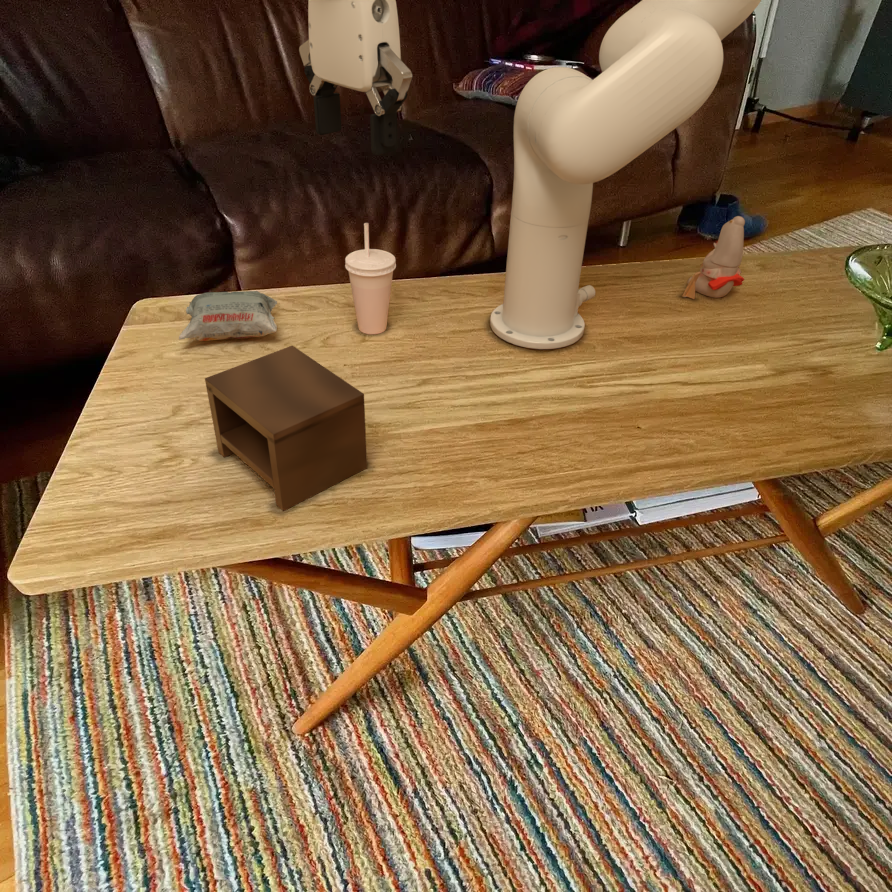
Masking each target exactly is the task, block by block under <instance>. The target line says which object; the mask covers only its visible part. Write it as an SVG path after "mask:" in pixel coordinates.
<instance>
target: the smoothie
mask: <svg viewBox="0 0 892 892" xmlns="http://www.w3.org/2000/svg"><path fill="white" fill-rule="evenodd" d="M369 224H370V223H369V222H364V223H363V234H364V235H363V236H364V237H363V238H364V248H363V249H359V250H358V249H357V250H355V251H353V252H352V251H351V252H350V253H349V254H347V255H346V256H345V258H344V261H345V262H344V263H345V265H344V268H345V270H347V271H348V276H349V277H348V278H349V282H350V288H351V295H352V299H353V303H354V304H353V305H354V311H355V317H356V322H357V329H358V330H359V331H360V332H361V333H363V334H366V335H378V334H382V333H384V332H385V331H386V330H387V325H388V316H389V307H390V301H391V292H392V284H393V275H394V271H395V270H396V267H397V264H396V261H397V259H396V257H395V255H394V254H392V253H391V252H389V251H386V250H382V249H378V248H370V225H369Z"/></svg>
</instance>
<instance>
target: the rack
mask: <svg viewBox="0 0 892 892" xmlns="http://www.w3.org/2000/svg"><path fill="white" fill-rule="evenodd" d="M204 382H205V387H206V393H207V398H208V403H209V409H210V415H211V419H212V425H213V430H214V436H215V441H216V446H217V452H218V453H219V454H220V455H221V456H222V457H223V458H227V457H229V456H231V455H234V454H235V455H236V456H237V457H238V458H239V459H240V460H241V461H243V462H244V463H245V464H246V465H247V466H248V467H249V468H250V469H251V470H253V472H255V473H256V474H257V475H258V476H259V477H260V478H261V479H263V480H264V481H265V482H266V483H267V484H268V485H270V486H271V488H273V491H274V498H275V504H276V506H277V507H278V508H279V509H280V510H281V511H282V512H285V511H287V510H289V509H290V508H292V507H294V506H296V505H299V504H300V503H302V502H304V501H306V500H308V499H310V498H312V497H314V496H316V495H317V494H319V493H322V492H323V491H325V490H328V489H329V488H331V487H333V486H336V485H337V484H338V483H342V482H343V481H344V480H347V479H349V478H350V477H352V476H355V475H356V474H359V473H360V472H362V471H364V470H367V468H368V461H367V458H368V457H367V435H366V409H365V394H364V393H363V392H362V391H361V390H359V389H358V388H356V387H355V386H353V385H352V384H350V383H349V382H347V381H346V380H344V379H343V378H341V376H339V375H337V374H335V373H334V372H333V371H331V370H330V369H328V368H327V367H325V366H324V365H322V364H321V363H320V362H318V361H316V360H314V359H313V358H312V357H310V356H309V355H307V354H305V353H304V352H303V351H301V350H300V349H299V348H297V347H295V346H294V345H290V346H287V347H285V348H282V349H279V350H277V351H274V352H272V353H269V354H266V355H262V356H260V357H258V358H256V359H252V360H250V361H247V362H244V363H242V364H239V365H236V366H233V367H231V368H229V369H226V370H223V371H220V372H218V373H215V374H212V375H210V376H208V377H205V378H204Z"/></svg>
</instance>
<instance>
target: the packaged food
mask: <svg viewBox="0 0 892 892" xmlns="http://www.w3.org/2000/svg"><path fill="white" fill-rule="evenodd" d="M276 305H278V301H277V300H276V299H274V298H273V297H271V296H269V295H266V294H265V293H263V292H260V291H258V290H243V291H242V290H240V291H239V290H238V291H230V292H229V291H215V292H214V291H211V292H210V291H209V292H203V293H200V294H196V295H195V296H194V297H193V298H192V300H191V301H190V302H189V305H188V306H186V308H185V313H186V315H189V316H191V318H190V320H189V323H188V324H187V326H186V327H185V328H184V329H183V330H182V332H181V333H180V334H179V336H178V340H179V341H180V340H185V339H194V340H196V341H200V342H208V341H218V340H219V341H221V340H229V339H236V340H240V339H249V338H258V337H265V336H266V335H272V334H275V333H276V332H277V331H278V326H277V324H276V323H275V320H276V318H275V317H274V316H273V314H272V311H273V309H274V308H275V307H276Z"/></svg>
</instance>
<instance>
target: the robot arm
mask: <svg viewBox="0 0 892 892" xmlns="http://www.w3.org/2000/svg"><path fill="white" fill-rule="evenodd" d="M761 2H762V0H640V1H639V2H638V3H637V4H635V5H634V6H633V7H632V8H630V9H629V10H627V11H626V12H625V13H623V14H622V15H621V16H620V17H619V18H618V19H617V20H615V22H614V23H613V24H612V25H611V26H610V27H609V28H608V30H607V31H606V33H605V35H604V37H603V38H602V41H601V43H600V47H599V52H598V63H599V67H600V69H601V73H600V74H598V75H597V76H596V77H595V78H593V79H592V78H591V77H589V76H587V75H586V74H584V73H583V72H581V71H579V70H577V69H574V68H571V67H567V66H566V67H565V66H553V67H550V68H547V69H544V70H542V71H540V72H538V73H537V74H535V75H534V76H533V77H532V78H530V79H529V80H528V82H527V83H526V84H525V86H524V87H523V89H522V90H521V91H520V94H519V95H518V98H517V102H516V105H515V110H514V116H513V184H512V185H513V186H512V197H511V198H512V199H511V210H510V220H509V230H508V232H509V233H508V242H507V253H506V254H507V257H506V268H505V278H504V289H503V302H502V303H501V304H499V305H498V306H496V307H495V308H494V309H493V310H492V312H491V313H490V318H489V320H490V321H489V326H490V328H491V330H492V332H493V333H494V335H496V336H497V337H499V338H500V339H501V340H503V341H505V342H507V343H509V344H511V345H514V346H518V347H522V348H527V349H533V350H554V349H561V348H566V347H569V346H571V345H573V344H575V343H576V342H578V341H580V339H581V338H582V337H583V335H584V333H585V327H586V326H585V325H586V323H585V320H584V318H583V317H582V315H581V314H580V313H579V312H578V311H579V308H580V307H581V306H582V305H583V303H585V302H587V301H589V300H592V299H594V298H595V297H596V289H595V288H594V286H593V285H591V284H588V285H585V286H583V287H580V282H581V281H580V280H581V272H582V266H583V260H584V254H585V253H584V252H585V248H586V247H585V246H586V240H587V234H588V233H587V232H588V227H589V221H590V220H589V219H590V217H591V215H590V214H591V208H592V201H593V190H594V183H598V182H600V181H602V180H605V179H606V178H608V177H610V176H612V175H614V174H616V173H617V172H618V171H620V170H621V169H624V167H626V166H627V165H628V164H629V163H631V162H632V161H634V159H636V158H638V157H639V156H640V155H642V154H643V153H644V152H646V151H647V150H649V149H650V148H651V147H653V146H654V145H655V144H657V143H658V142H659V141H660V140H662V139H663V138H665V137H667V135H669V134H670V133H672V132H673V131H674V130H675V129H677V128H678V127H679V126H681V125H682V124H683V123H685V122H686V121H687V120H688V119H690V118H691V117H692V116H693V115H694V114H695V113H697V112H698V110H700V108H701V107H702V106H703V105H704V104H705V103H706V102H707V100H708V99H709V97H710V96H711V95H712V93H713V91H714V89H715V87H716V86H717V84H718V82H719V80H720V77H721V73H722V70H723V65H724V49H723V43H722V41H723V40H724V39H725V38H726V37H727V36H729V34H731V33H732V32H734V30H736V29H737V28H738V27H739V26H740V25H742V23H744V22H745V21H746V20H747V19H748V18H749V16H750V15H751V14H752V13H753V12H754V11H755V10H756V8H758V6H759V5H760V3H761ZM307 4H308V5H307V7H308V9H307V10H308V11H307V12H308V13H307V15H308V18H307V21H308V24H307V25H308V39H307V40H306V41H304V42H303V43H302V44H301V45H299V47H298V52H299V56H300V58H301V61H302V64H303V67H304V69H303V72H304V75H305V77H306V79H307V81H308V83H309V93H310V95H312V96H313V109H314V123H315V133H316V134H317V135H320V136H323V135H329V134H333V133H338V132H340V131H341V130H342V111H341V110H342V109H341V96H340V93H339V92H336V90H337V88H338V86H340V87H343V88H346V89H349V90H353V91H357V92H362V93H365V94H366V97H367V99H368V101H369V103H370V105H371V107H372V110H373V112H374V113H371V114H370V116H369V122H370V150H371V154H373V155H375V156H380V155H384V154H387V153H392V152H396V151H397V149H398V146H399V145H398V113H400V112H401V111H402V107H403V106H402V105H403V104H404V102H406V100H407V98H408V92H409V89H410V86H411V83H412V80H413V73H412V71H411V69H410V68H409V67H408V66H407V65H406V64H405V63H404V62H403V60H402V56H401V55H402V54H401V52H402V51H401V38H400V37H401V36H400V26H399V25H400V24H399V15H398V7H397V1H396V0H308V3H307ZM380 92H382V93H383V95H384V96H383V98H381V96H380Z"/></svg>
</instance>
